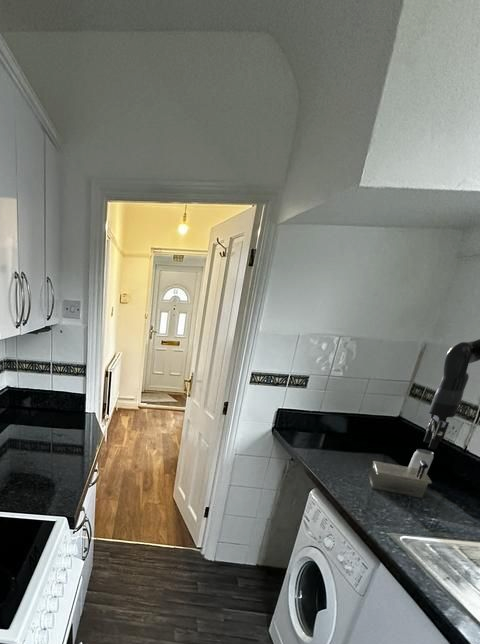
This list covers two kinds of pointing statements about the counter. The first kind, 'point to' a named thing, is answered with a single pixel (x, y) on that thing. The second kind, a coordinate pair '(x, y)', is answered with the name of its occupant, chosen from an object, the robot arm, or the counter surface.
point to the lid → (403, 471)
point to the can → (421, 458)
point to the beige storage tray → (396, 484)
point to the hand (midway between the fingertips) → (429, 445)
